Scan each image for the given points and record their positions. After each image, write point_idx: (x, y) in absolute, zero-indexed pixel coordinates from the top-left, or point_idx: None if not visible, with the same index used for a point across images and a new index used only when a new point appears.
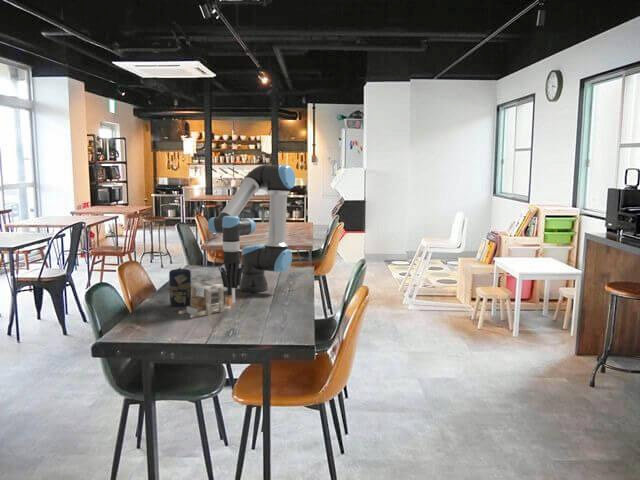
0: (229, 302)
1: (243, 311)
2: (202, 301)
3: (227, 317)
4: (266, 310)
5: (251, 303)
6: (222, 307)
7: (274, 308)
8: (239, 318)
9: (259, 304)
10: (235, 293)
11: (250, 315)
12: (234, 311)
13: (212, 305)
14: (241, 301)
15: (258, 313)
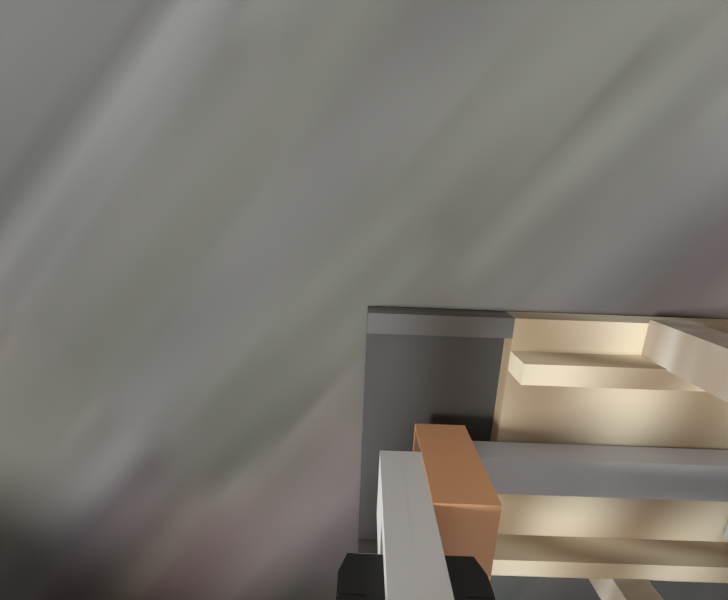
0: (474, 461)
1: (410, 244)
2: None
3: (720, 168)
4: (181, 61)
5: (127, 439)
6: (720, 339)
7: (38, 60)
8: (685, 8)
9: (82, 350)
10: (355, 570)
11: (491, 18)
12: None
13: (580, 555)
14: (159, 556)
15: (353, 17)
